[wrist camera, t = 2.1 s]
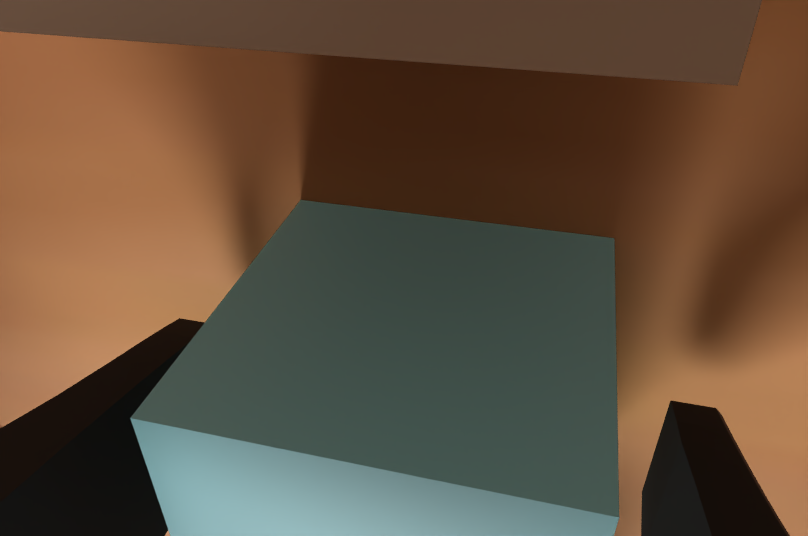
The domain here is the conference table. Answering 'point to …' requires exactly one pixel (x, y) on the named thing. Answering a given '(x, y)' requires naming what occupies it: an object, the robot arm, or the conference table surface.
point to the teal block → (396, 385)
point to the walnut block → (433, 31)
